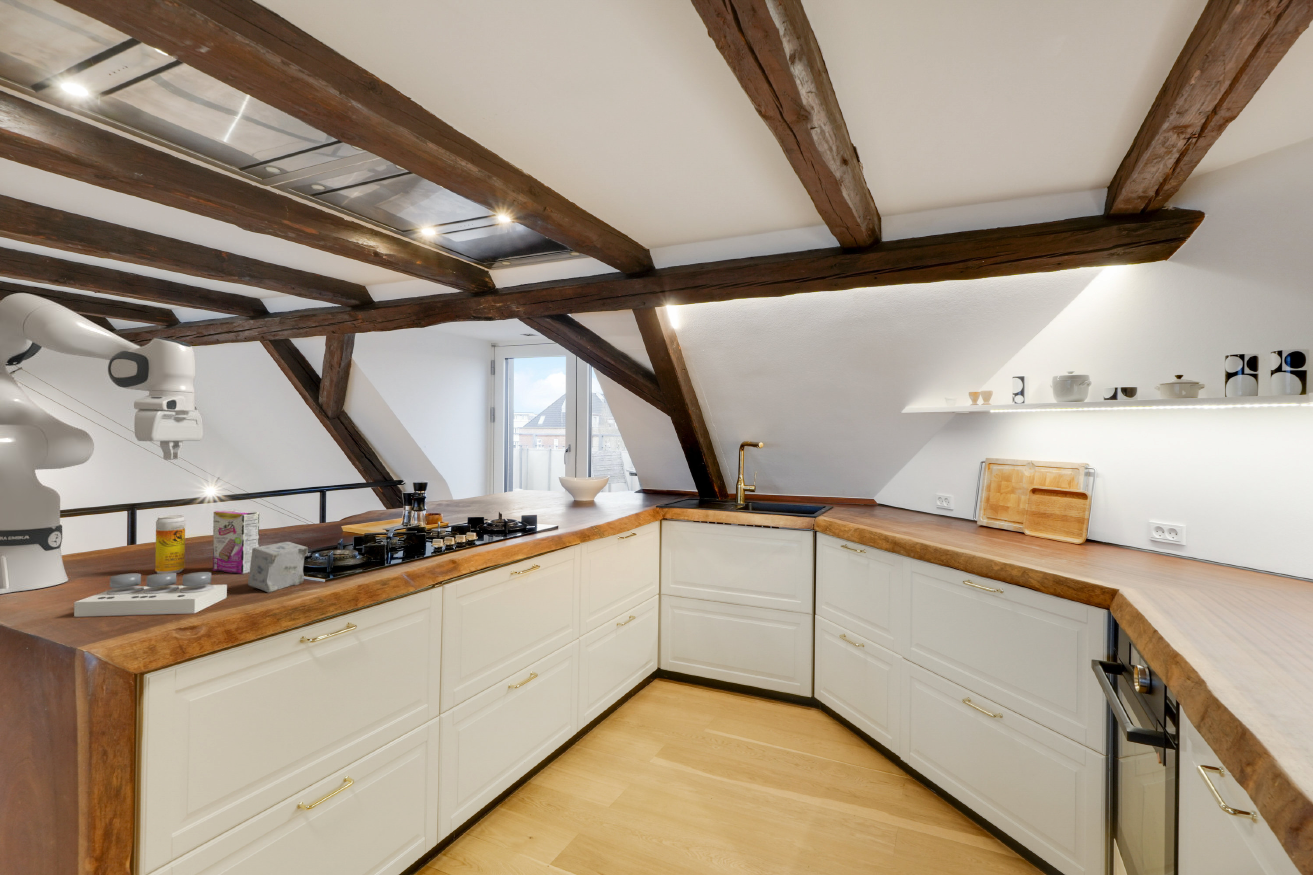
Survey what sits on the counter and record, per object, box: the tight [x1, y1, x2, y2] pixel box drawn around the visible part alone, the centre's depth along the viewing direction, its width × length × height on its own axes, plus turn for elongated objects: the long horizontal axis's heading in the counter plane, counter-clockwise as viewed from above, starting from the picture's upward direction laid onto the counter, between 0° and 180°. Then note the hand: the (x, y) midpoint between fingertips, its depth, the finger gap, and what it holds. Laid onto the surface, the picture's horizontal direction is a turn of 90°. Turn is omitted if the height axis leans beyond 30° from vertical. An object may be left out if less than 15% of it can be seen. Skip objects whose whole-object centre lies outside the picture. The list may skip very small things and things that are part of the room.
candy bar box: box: [212, 509, 260, 575], centre depth 160 cm, size 11×5×16 cm, turn 73°
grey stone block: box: [247, 541, 309, 593], centre depth 145 cm, size 10×8×10 cm
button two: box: [109, 572, 142, 589], centre depth 128 cm, size 5×5×2 cm
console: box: [73, 583, 228, 618], centre depth 127 cm, size 22×12×3 cm, turn 99°
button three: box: [146, 573, 177, 587], centre depth 129 cm, size 5×5×2 cm
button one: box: [182, 571, 212, 587], centre depth 130 cm, size 5×5×2 cm
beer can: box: [154, 514, 186, 574], centre depth 158 cm, size 6×6×15 cm
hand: (171, 459), depth 145 cm, fingers closed
